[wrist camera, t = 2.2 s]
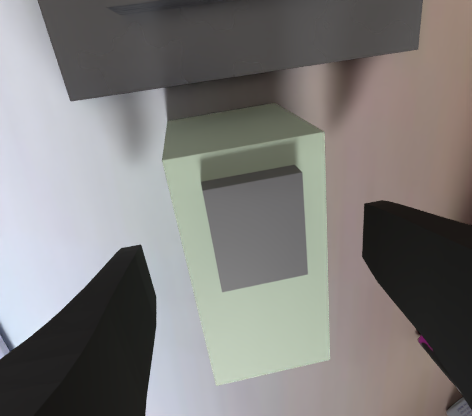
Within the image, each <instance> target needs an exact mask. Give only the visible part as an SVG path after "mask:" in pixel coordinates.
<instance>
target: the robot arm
mask: <svg viewBox="0 0 472 416" xmlns="http://www.w3.org/2000/svg"><path fill="white" fill-rule="evenodd" d="M362 257H363V259H364V260H365V262H366V264H367V266H368V267H369V269H370V271H371V272H372V274H373V275H374V277H375V279H376V280H377V282H378V283H379V284H380V285H381V287H382V288H383V289H384V290H385V292H386V293H387V294H388V295H389V297H390V298H391V299H392V300H393V301H394V303H395V304H396V305H397V306H398V307H399V309H400V310H401V311H402V312H403V313H404V315H405V316H406V317H407V318H408V319H409V321H410V322H411V323H412V324H413V325H414V327H415V328H416V329H417V330H418V331H419V333H420V334H421V335H422V336H423V338H424V339H425V340H426V342H427V343H428V344H429V346H430V347H431V348H432V350H433V351H434V353H435V354H436V356H437V357H438V359H439V360H440V362H441V363H442V365H443V366H444V368H445V369H446V371H447V372H448V374H449V375H450V377H451V378H452V380H453V381H454V383H455V385H456V386H457V388H458V389H459V391H460V393H461V394H462V396H463V397H464V399H465V400H466V402H467V404H468V405H469V407H470V408H471V410H472V225H468V224H464V223H461V222H457V221H454V220H450V219H447V218H444V217H440V216H437V215H434V214H430V213H427V212H424V211H421V210H417V209H414V208H411V207H408V206H404V205H401V204H397V203H393V202H389V201H383V200H382V201H376V202H371V203H365V204H364V226H363V250H362ZM155 331H156V294H155V291H154V287H153V284H152V281H151V277H150V274H149V270H148V267H147V263H146V260H145V256H144V253H143V249H142V246H141V245H136V246H131V247H125V248H121V249H120V250H119V251H118V252H117V253H116V254H115V255H114V256H113V257H112V258H111V259H110V260H109V262H108V263H107V264H106V265H105V266H104V267H103V268H102V269H101V270H100V271H99V273H98V274H97V275H96V276H95V277H94V278H93V279H92V280H91V281H90V282H89V283H88V284H87V286H86V287H85V288H84V289H83V290H82V291H81V292H79V293H78V294H77V295H76V296H75V297H74V298H73V299H72V300H71V301H70V302H69V303H68V304H67V305H66V306H65V307H64V308H63V309H62V310H61V311H60V312H59V313H58V314H57V315H56V316H54V317H53V318H52V319H51V320H50V321H49V322H48V323H46V324H45V325H44V326H43V327H42V328H40V329H39V330H38V331H37V332H35V333H34V334H33V335H32V336H31V337H29V338H28V339H27V340H26V341H24V342H23V343H22V344H20V345H19V346H17V347H16V348H15V349H13V350H12V351H9V349H8V348H7V346H6V344H5V343H4V341H3V339H2V337H1V336H0V416H145V410H146V399H147V390H148V383H149V376H150V369H151V361H152V354H153V347H154V339H155Z"/></svg>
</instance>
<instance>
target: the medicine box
mask: <svg viewBox="0 0 472 416" xmlns="http://www.w3.org/2000/svg"><path fill="white" fill-rule="evenodd" d="M447 415H448V416H472V410H471V408H470V407H469V405H468V404H467V402H466V400H465V399H464V397H462V398H461V399H460V400H458V401H457V402H456V403H455V404H454V405H453V406H451V407H450V408H449V409H448V410H447Z"/></svg>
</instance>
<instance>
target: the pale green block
mask: <svg viewBox="0 0 472 416" xmlns="http://www.w3.org/2000/svg"><path fill="white" fill-rule="evenodd" d="M162 162H163V166H164V171H165V175H166V179H167V183H168V187H169V191H170V196H171V200H172V204H173V208H174V212H175V216H176V221H177V225H178V229H179V233H180V237H181V241H182V246H183V250H184V254H185V258H186V262H187V266H188V271H189V275H190V279H191V283H192V287H193V291H194V296H195V300H196V304H197V308H198V312H199V316H200V321H201V325H202V329H203V333H204V337H205V342H206V346H207V350H208V354H209V358H210V362H211V367H212V371H213V375H214V379H215V383H216V386H218V385H223V384H227V383H231V382H236V381H240V380H244V379H249V378H253V377H257V376H262V375H266V374H270V373H275V372H279V371H283V370H288V369H292V368H296V367H301V366H305V365H309V364H314V363H318V362H323V361H327V360H330V342H329V300H328V257H327V215H326V173H325V132H324V131H322V130H320V129H319V128H317V127H315V126H313V125H312V124H310V123H308V122H307V121H305V120H303V119H301V118H300V117H298V116H296V115H294V114H293V113H291V112H289V111H288V110H286V109H284V108H282V107H281V106H279V105H277V104H275V103H272V104H266V105H260V106H254V107H248V108H242V109H236V110H230V111H224V112H218V113H212V114H206V115H200V116H194V117H188V118H182V119H176V120H170V121H167V128H166V136H165V143H164V150H163V158H162Z"/></svg>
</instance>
